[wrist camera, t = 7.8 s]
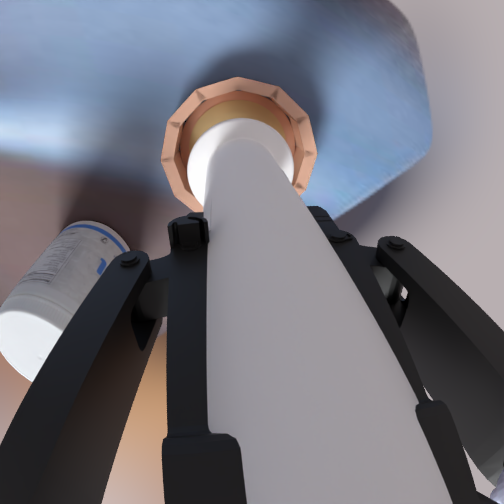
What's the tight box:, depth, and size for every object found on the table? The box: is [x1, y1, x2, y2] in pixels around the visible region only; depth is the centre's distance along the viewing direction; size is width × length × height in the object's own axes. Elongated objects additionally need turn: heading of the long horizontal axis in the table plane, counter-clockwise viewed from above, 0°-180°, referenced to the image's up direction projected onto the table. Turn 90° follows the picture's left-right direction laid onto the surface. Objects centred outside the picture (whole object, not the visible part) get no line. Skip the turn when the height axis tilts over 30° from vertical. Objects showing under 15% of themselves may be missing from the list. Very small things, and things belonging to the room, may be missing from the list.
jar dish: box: [161, 77, 318, 212], centre depth 26 cm, size 12×12×4 cm
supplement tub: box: [0, 221, 130, 382], centre depth 25 cm, size 10×10×15 cm
